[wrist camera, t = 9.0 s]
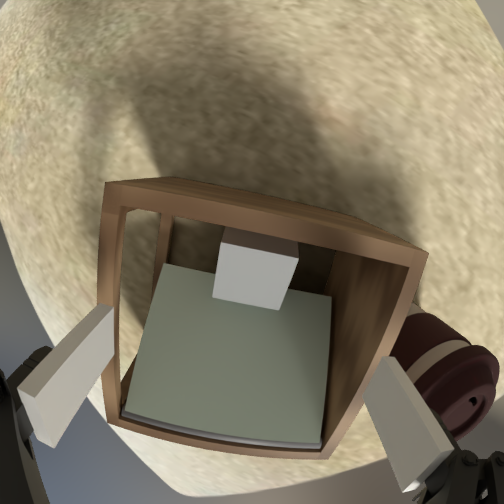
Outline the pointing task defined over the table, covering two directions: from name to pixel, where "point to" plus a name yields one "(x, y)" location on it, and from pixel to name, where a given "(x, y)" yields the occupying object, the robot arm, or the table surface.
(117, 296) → the box frame
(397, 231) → the table surface
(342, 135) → the table surface
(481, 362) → the coffee cup
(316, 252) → the table surface
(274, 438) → the trapdoor
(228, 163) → the table surface
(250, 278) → the block
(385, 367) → the robot arm
